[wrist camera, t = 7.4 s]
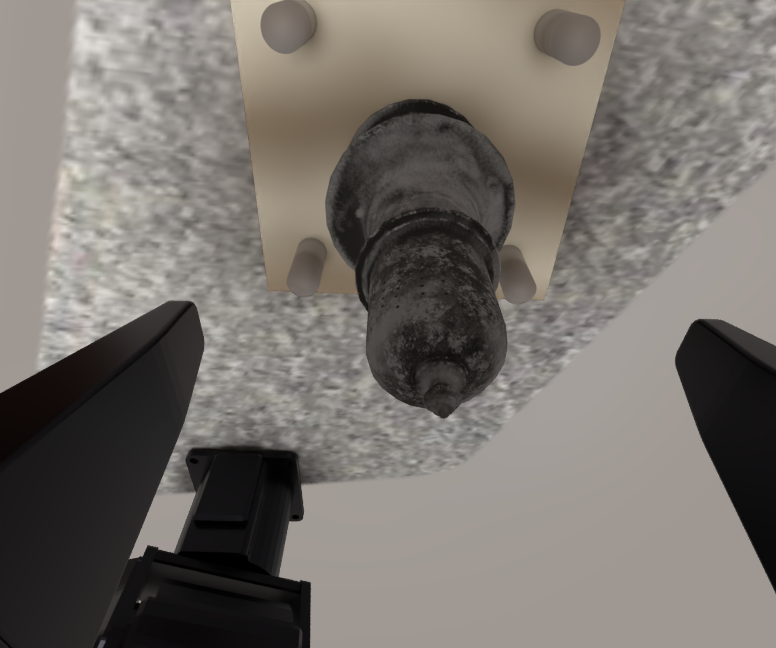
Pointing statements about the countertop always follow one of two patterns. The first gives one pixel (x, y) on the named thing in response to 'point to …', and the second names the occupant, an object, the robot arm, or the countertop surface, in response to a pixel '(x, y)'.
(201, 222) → the countertop surface
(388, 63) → the pin board
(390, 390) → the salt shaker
